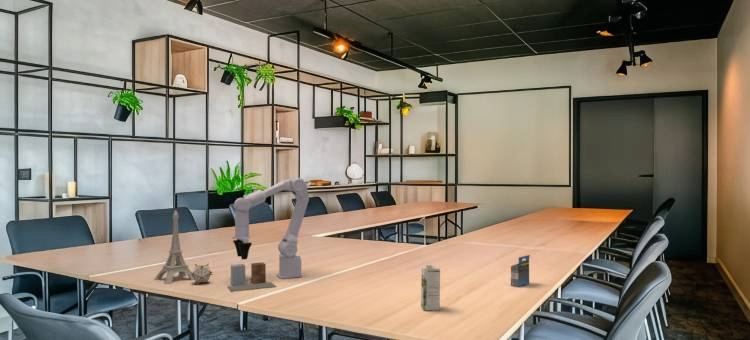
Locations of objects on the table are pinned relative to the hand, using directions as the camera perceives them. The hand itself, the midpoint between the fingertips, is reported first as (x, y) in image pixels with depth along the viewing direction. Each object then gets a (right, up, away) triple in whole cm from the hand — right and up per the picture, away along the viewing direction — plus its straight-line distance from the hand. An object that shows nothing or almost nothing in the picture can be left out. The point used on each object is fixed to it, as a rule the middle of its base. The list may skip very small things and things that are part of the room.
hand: (242, 257), depth 217 cm
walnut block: (+8, -10, -3) cm, 13 cm away
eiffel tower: (-30, -10, +2) cm, 31 cm away
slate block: (0, -10, -7) cm, 12 cm away
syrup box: (+76, -11, -42) cm, 87 cm away
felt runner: (+7, -10, -12) cm, 17 cm away
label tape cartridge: (+117, -11, -6) cm, 118 cm away
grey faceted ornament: (-16, -10, -5) cm, 19 cm away
